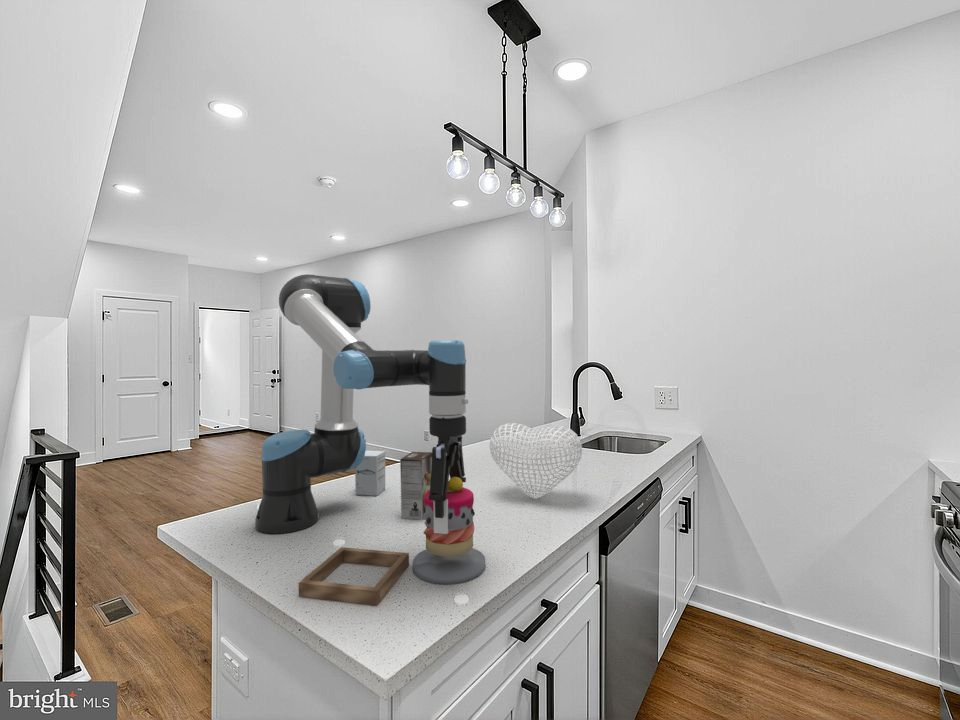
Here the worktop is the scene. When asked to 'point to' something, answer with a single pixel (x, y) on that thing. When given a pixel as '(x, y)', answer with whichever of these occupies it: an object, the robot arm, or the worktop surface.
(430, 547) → the cake
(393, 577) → the frame
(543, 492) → the heart
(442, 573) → the plate
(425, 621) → the worktop surface
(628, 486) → the worktop surface
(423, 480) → the coffee box
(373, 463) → the supplement box
